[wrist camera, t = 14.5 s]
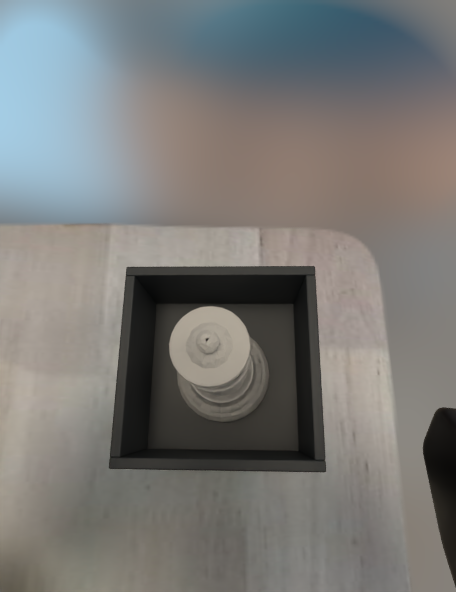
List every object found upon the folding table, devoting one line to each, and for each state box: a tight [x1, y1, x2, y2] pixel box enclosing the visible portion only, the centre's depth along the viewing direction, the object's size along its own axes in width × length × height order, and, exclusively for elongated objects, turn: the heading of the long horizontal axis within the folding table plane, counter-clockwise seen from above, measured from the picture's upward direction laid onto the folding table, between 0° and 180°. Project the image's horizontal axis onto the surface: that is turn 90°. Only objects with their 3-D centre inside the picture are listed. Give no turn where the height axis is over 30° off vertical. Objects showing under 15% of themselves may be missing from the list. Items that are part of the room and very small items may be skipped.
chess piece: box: [169, 306, 269, 422], centre depth 15 cm, size 4×4×10 cm
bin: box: [109, 266, 326, 472], centre depth 18 cm, size 8×8×5 cm
